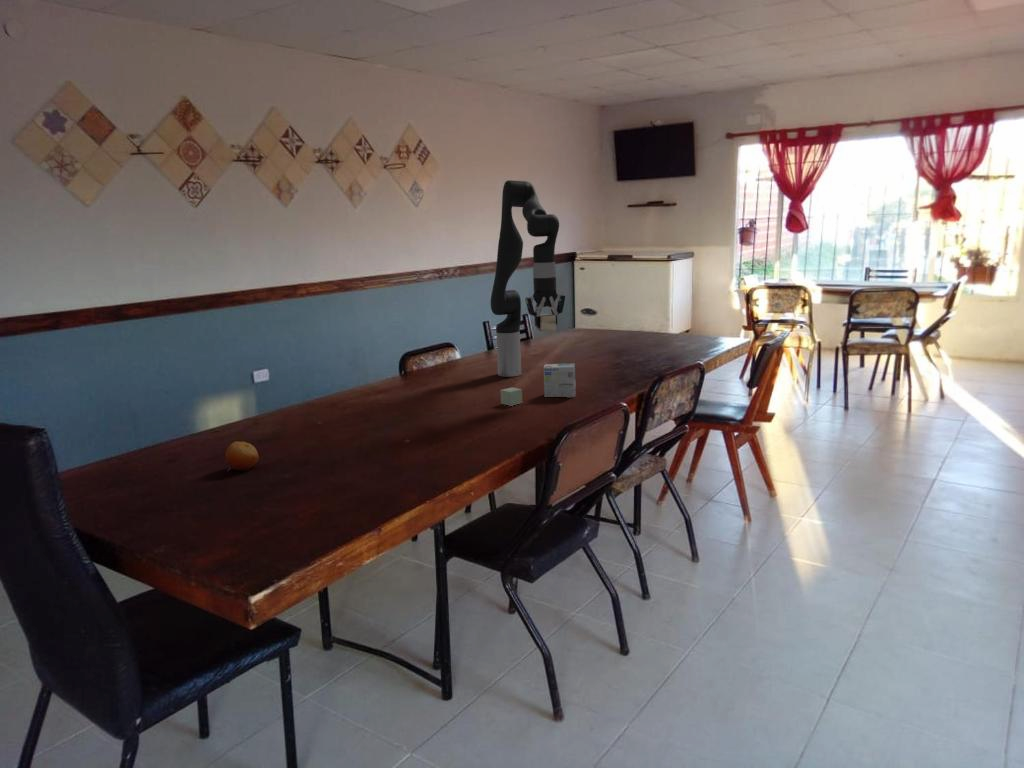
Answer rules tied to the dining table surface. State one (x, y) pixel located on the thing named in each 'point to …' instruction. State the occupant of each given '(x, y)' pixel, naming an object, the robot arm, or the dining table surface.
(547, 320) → the beech block
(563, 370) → the light bulb box
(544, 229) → the robot arm
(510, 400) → the sage block
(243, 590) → the dining table surface
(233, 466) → the fruit
